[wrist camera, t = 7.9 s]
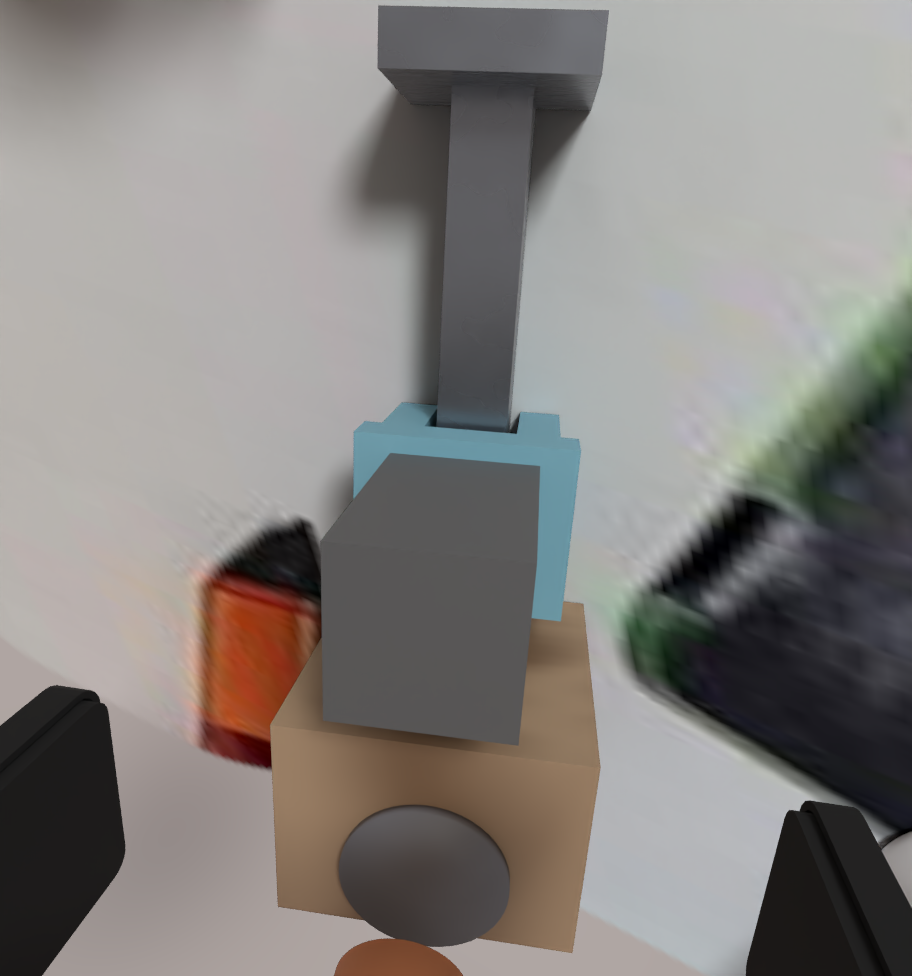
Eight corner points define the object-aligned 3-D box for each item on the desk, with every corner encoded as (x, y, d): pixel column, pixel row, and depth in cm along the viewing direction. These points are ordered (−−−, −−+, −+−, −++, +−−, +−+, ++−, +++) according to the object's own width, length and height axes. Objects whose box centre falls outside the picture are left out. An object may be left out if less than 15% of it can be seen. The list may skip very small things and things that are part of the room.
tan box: (583, 603, 24) (601, 777, 16) (564, 751, 26) (571, 969, 18) (344, 578, 24) (249, 730, 17) (344, 723, 26) (259, 920, 19)
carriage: (575, 416, 21) (596, 543, 12) (558, 561, 23) (566, 773, 14) (386, 401, 22) (267, 510, 13) (383, 543, 24) (276, 734, 14)
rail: (596, 60, 18) (608, 10, 15) (539, 599, 24) (537, 664, 20) (411, 55, 19) (378, 5, 15) (397, 583, 24) (369, 644, 20)
